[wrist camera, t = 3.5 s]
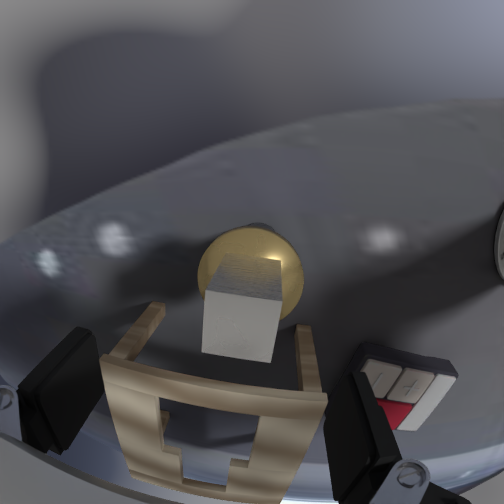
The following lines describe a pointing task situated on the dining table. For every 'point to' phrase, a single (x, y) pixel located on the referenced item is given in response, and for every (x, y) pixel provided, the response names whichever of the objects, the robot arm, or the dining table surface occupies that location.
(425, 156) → the dining table surface
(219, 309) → the peg
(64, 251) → the dining table surface
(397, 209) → the dining table surface
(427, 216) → the dining table surface
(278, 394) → the shelf
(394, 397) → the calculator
